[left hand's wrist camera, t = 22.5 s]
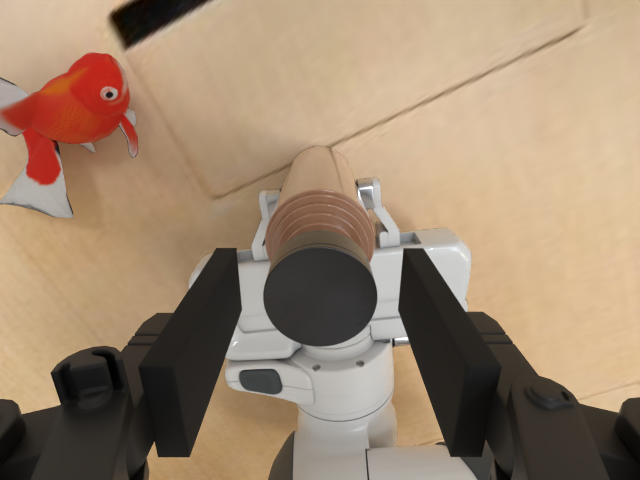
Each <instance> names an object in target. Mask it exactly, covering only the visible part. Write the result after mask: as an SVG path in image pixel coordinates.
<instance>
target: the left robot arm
mask: <svg viewBox="0 0 640 480" xmlns="http://www.w3.org/2000/svg"><path fill="white" fill-rule="evenodd" d="M241 312H242V303H241V292H240V281H239V270H238V259H237V248H216V250H215V251H214V253H213V254H212V256H211V257H210V259H209V260H208V262H207V263H206V265H205V266H204V268H203V269H202V271H201V272H200V274H199V275H198V277H197V278H196V280H195V281H194V283H193V285H192V286H191V288H190V289H189V291H188V292H187V294H186V295H185V297H184V298H183V300H182V301H181V303H180V304H179V306H178V307H177V309H176V310H175V312H174V313H157V314H155V315H154V316H152V317H151V318H149V319H148V320H147V321H145V322H144V323H143V324H142V325H141V326H140V328H139V329H138V330H137V332H136V333H135V336H133V337H132V338H131V340H130V341H129V342H128V345H127V346H125V347H124V349H123V350H122V351H121V352H120V351H119V350H117V349H116V348H113V347H108V346H100V347H92V348H88V349H85V350H81V351H79V352H77V353H75V354H72V355H70V356H68V357H67V358H65V359H64V360H63V361H61V362H60V363H58V364H57V365H56V367H55V368H54V369H53V370H52V372H51V376H52V379H53V382H54V385H55V388H56V391H57V394H58V397H59V400H60V403H61V405H59V406H56V407H52V408H48V409H43V410H39V411H35V412H30V413H26V414H21V411H20V409H19V406H18V404H16V403H15V402H14V401H12V400H6V399H0V480H148V479H149V468H148V462H147V458H146V457H147V455H148V453H149V451H150V449H151V447H152V445H153V443H154V441H155V445H156V449H157V454H158V457H190V454H191V451H192V449H193V446H194V443H195V440H196V437H197V435H198V432H199V429H200V426H201V423H202V421H203V418H204V415H205V412H206V410H207V407H208V404H209V401H210V398H211V396H212V393H213V390H214V387H215V384H216V382H217V379H218V376H219V373H220V370H221V368H222V365H223V362H224V359H225V356H226V354H227V351H228V348H229V345H230V342H231V340H232V337H233V334H234V331H235V328H236V326H237V323H238V320H239V317H240V314H241ZM398 312H399V314H400V317H401V320H402V323H403V326H404V328H405V331H406V334H407V337H408V340H409V342H410V345H411V348H412V351H413V354H414V356H415V359H416V362H417V365H418V368H419V370H420V373H421V376H422V379H423V382H424V384H425V387H426V390H427V393H428V396H429V398H430V401H431V404H432V407H433V410H434V412H435V415H436V418H437V421H438V424H439V426H440V429H441V432H442V435H443V437H444V440H445V443H446V446H447V449H448V451H449V454H450V457H482V454H483V449H484V445H485V440H486V441H487V443H488V445H489V447H490V449H491V451H492V453H493V455H494V458H493V462H492V466H491V470H490V475H489V479H488V480H640V397H639V398H629V399H627V400H626V401H625V402H623V403H622V406H621V409H620V411H619V413H617V412H612V411H608V410H604V409H599V408H595V407H590V406H586V405H583V404H580V403H579V402H578V401H577V399H576V398H575V396H574V395H573V394H572V393H571V392H570V391H568V390H567V389H566V388H565V387H564V386H562V385H560V384H558V383H556V382H555V381H553V380H551V379H547V378H544V377H541V376H538V374H537V373H536V372H535V370H534V369H533V368H532V366H531V365H530V364H529V363H528V361H527V360H526V359H525V357H524V356H523V355H522V354H521V352H520V351H519V350H518V348H517V347H516V346H515V344H513V342H512V341H511V339H510V338H509V337H508V335H506V334H505V331H504V330H503V329H502V328H501V326H500V325H499V324H498V322H497V321H495V320H494V319H492V318H491V317H490V316H488V315H487V314H485V313H484V312H465V310H464V309H463V307H462V306H461V304H460V303H459V301H458V300H457V298H456V297H455V295H454V294H453V292H452V291H451V289H450V288H449V286H448V285H447V283H446V281H445V280H444V278H443V277H442V275H441V274H440V272H439V271H438V269H437V268H436V266H435V265H434V263H433V262H432V260H431V259H430V257H429V256H428V254H427V253H426V251H425V250H424V248H403V259H402V270H401V281H400V292H399V303H398Z"/></svg>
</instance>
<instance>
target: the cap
mask: <svg viewBox="0 0 640 480" xmlns="http://www.w3.org/2000/svg"><path fill="white" fill-rule="evenodd" d="M263 302H264V308H265V311H266V314H267V316H268V318H269V320H270V321H271V323H272V324H273V325H274V326H275V328H276V329H277V330H278V331H279V332H281V333H282V334H283V335H284V336H286V337H287V338H289V339H291V340H293V341H295V342H298V343H300V344H304V345H308V346H317V347H324V346H332V345H337V344H340V343H343V342H345V341H348V340H350V339H351V338H353V337H355V336H356V335H358V334H359V333H360V332H361V331H362V330H363V329H364V328H365V327H366V326H367V325H368V323H369V322H370V320H371V319H372V317H373V315H374V312H375V309H376V306H377V288H376V283H375V280H374V276H373V273H372V270H371V266H370V263H369V260H368V258H367V256H366V254H365V253H364V251H363V250H362V249H361V248H360V247H359V245H358V244H356V243H355V242H354V241H353V240H351V239H350V238H348V237H346V236H344V235H342V234H339V233H336V232H332V231H327V230H315V231H308V232H304V233H301V234H298V235H296V236H294V237H292V238H291V239H289V240H288V241H286V242H285V243H284V244H283V245H282V246H281V247H280V248H279V249H278V251H277V252H276V254H275V255H274V257H273V259H272V261H271V265H270V268H269V272H268V275H267V279H266V282H265V286H264V291H263Z"/></svg>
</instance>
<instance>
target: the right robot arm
mask: <svg viewBox="0 0 640 480" xmlns="http://www.w3.org/2000/svg"><path fill="white" fill-rule="evenodd" d="M356 184H357V186H358V189H359V191H360V194H361V196H362V199H363V202H364V204H365V207H366V209H371V208H372V209H373V211H374V212H375V214H376V215H377V216H378V218H379V219H380V221H381V222H377V223H376V224H375V228H376V235H375V249H374V254H373V257H372V259H371V262H370V266H371V270H372V273H373V276H374V280H375V283H376V288H377V306H376V309H375V312H374V315H373V317H372V319H371V320H370V322H369V323H368V325H367V326H366V327H365V328H364V329H363V330H362V331H361V332H360V333H359V334H358V335H356V336H355V337H353V338H351V339H350V340H348V341H345V342H343V343H340V344H337V345H332V346H324V347H317V346H308V345H304V344H300V343H298V342H295V341H293V340H291V339H289V338H287V337H286V336H284V335H283V334H282V333H281V332H279V331H278V330H277V329H276V328H275V326H274V325H273V324H272V323H271V321H270V320H269V318H268V316H267V314H266V311H265V308H264V302H263V291H264V286H265V282H266V279H267V275H268V272H269V268H270V265H271V263H270V261H269V258H268V255H267V252H266V247H265V234H266V229H267V225H268V223H269V220H270V218H271V215H272V212H273V210H274V207H275V205H276V202H277V200H278V197H279V195H280V192H281V190H282V189H271V190H262V191H261V192H260V193H259V204H260V210H261V215H262V220H261V222H260V225H259V227H258V230H257V232H256V235H255V237H254V240H253V243H252V245H251V248H252V249H245V250H237V259H238V270H239V281H240V292H241V303H242V312H241V314H240V317H239V320H238V323H237V326H236V328H235V331H234V334H233V337H232V340H231V342H230V345H229V348H228V351H227V354H226V356H225V358H226V359H227V362H226V368H225V379H226V382H227V384H228V386H229V387H230V388H232V389H234V390H238V391H244V392H250V393H256V394H262V395H267V396H272V397H277V398H281V399H284V400H288V401H291V402H294V403H296V405H297V408H298V410H299V413H298V430H297V431H293V432H292V433H291V435H290V436H289V437H288V438H287V440H286V441H285V443H284V445H283V446H282V448H281V450H280V451H279V453H278V455H277V457H276V458H275V460H274V463H273V465H272V468H271V471H270V474H269V478H268V480H488V479H489V475H490V470H491V466H492V462H493V458H494V455H493V453H492V451H491V449H490V447H489V445H488V443H487V441H486V440H485V445H484V449H483V454H482V457H450V454H449V451H448V449H447V446H446V443H445V442H438V443H436V444H435V445H421V446H401V447H397V418H396V412H395V408H394V405H393V403H392V401H391V399H392V396H393V392H394V384H395V381H394V362H393V349H392V348H394V346H404V345H410V342H409V340H408V337H407V334H406V331H405V328H404V326H403V323H402V320H401V317H400V314H399V312H398V303H399V292H400V281H401V270H402V259H403V248H424V250H425V251H426V253H427V254H428V256H429V257H430V259H431V260H432V262H433V263H434V265H435V266H436V268H437V269H438V271H439V272H440V274H441V275H442V277H443V278H444V280H445V281H446V283H447V285H448V286H449V288H450V289H451V291H452V292H453V294H454V295H455V297H456V298H457V300H458V301H459V303H460V304H461V306H462V307H463V309H464V310H465V312H468V303H467V299H466V295H467V290H468V285H469V279H470V271H471V260H472V256H471V251H470V249H469V247H468V246H467V244H466V243H465V242H464V241H463V240H462V239H461V238H460V237H459V236H458V235H457V234H456V233H454V232H453V231H452V230H451V229H449V228H435V229H426V230H417V231H408V232H399V229H398V227H397V225H396V223H395V222H394V220H393V218H392V217H391V216H390V214H389V213H388V211H387V210H386V209H385V207H384V206H383V204H382V203H381V188H380V182H379V179H378V178H377V177H373V178H364V179H357V180H356ZM212 254H213V253H210V254H207V255H205V256H204V257H203V258H202V259H201V261H200V262H199V263H198V264H197V266H196V267H195V269H194V270H193V272H192V274H191V276H190V278H189V282H188V288H189V289H190V288H191V286H192V285H193V283H194V281H195V280H196V278H197V277H198V275H199V274H200V272H201V271H202V269H203V268H204V266H205V265H206V263H207V262H208V260H209V259H210V257H211V256H212Z"/></svg>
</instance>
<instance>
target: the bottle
mask: <svg viewBox="0 0 640 480" xmlns="http://www.w3.org/2000/svg"><path fill="white" fill-rule="evenodd" d="M315 230H327V231H332V232H336V233H339V234H342V235H344V236H346V237H348V238H350V239H351V240H353V241H354V242H355V243H356V244H358V245H359V247H360V248H361V249H362V250H363V251H364V253H365V254H366V256H367V258H368V260H369V263H370V262H371V259H372V257H373V254H374V249H375V231H374V227H373V224H372V222H371V219H370V217H369V214H368V212H367V209H366V207H365V204H364V202H363V199H362V196H361V194H360V191H359V189H358V186H357V184H356V181H355V179H354V176H353V174H352V171H351V169H350V166H349V164H348V162H347V160H346V159H345V158H344V156H343V155H342V154H340V153H339V152H338V151H336V150H334V149H332V148H329V147H325V146H315V147H311V148H308V149H306V150H304V151H303V152H301V153H300V154H299V155H298V156H297V157H296V158H295V159H294V161H293V163H292V164H291V167H290V169H289V172H288V175H287V177H286V180H285V182H284V185H283V187H282V190H281V192H280V195H279V197H278V200H277V202H276V205H275V207H274V210H273V212H272V215H271V218H270V220H269V223H268V225H267V229H266V234H265V247H266V252H267V255H268V258H269V261H270V263H271V261H272V259H273V257H274V255H275V254H276V252H277V251H278V249H279V248H280V247H281V246H282V245H283V244H284V243H285V242H286V241H288V240H289V239H291V238H292V237H294V236H296V235H298V234H301V233H304V232H308V231H315Z"/></svg>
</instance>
